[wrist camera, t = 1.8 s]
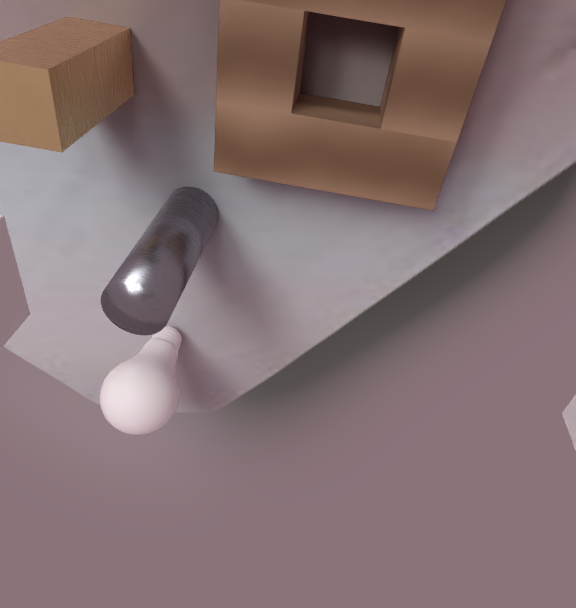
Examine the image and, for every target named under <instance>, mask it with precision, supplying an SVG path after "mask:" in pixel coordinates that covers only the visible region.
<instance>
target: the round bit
mask: <svg viewBox="0 0 576 608" xmlns="http://www.w3.org/2000/svg"><path fill="white" fill-rule="evenodd" d="M217 221H218V209H217V206H216V204H215V202H214V200H213V199H212V198H211V197H210V196H209V195H208V194H207V193H205V192H204V191H202V190H200V189H198V188H194V187H182V188H179V189H177V190H175V191H174V192H173V193H172V194H171V195H170V197H169V198H168V199H167V201H166V202H165V204H164V205H163V207H162V208H161V209H160V211H159V212H158V214H157V215H156V217H155V218H154V219H153V221H152V222H151V224H150V225H149V227H148V228H147V229H146V231H145V232H144V234H143V235H142V237H141V238H140V239H139V241H138V242H137V244H136V245H135V247H134V248H133V249H132V251H131V252H130V254H129V255H128V257H127V258H126V259H125V261H124V262H123V264H122V265H121V267H120V268H119V269H118V271H117V272H116V274H115V275H114V277H113V278H112V279H111V281H110V282H109V284H108V285H107V287H106V288H105V289H104V291H103V293H102V296H101V305H102V308H103V311H104V313H105V314H106V316H107V317H108V318H109V319H110V320H111V321H112V322H113V323H114V324H115V325H116V326H118V327H119V328H121V329H123V330H125V331H127V332H130V333H133V334H137V335H152V334H155V333H158V332H160V331H161V330H162V329H163V328H164V327H165V326H166V324H167V322H168V320H169V318H170V316H171V314H172V312H173V310H174V308H175V306H176V304H177V302H178V300H179V298H180V296H181V294H182V292H183V290H184V288H185V286H186V284H187V282H188V280H189V278H190V276H191V274H192V272H193V270H194V268H195V266H196V264H197V262H198V260H199V258H200V256H201V254H202V252H203V250H204V248H205V246H206V244H207V242H208V239H209V237H210V235H211V233H212V231H213V229H214V227H215V225H216V223H217Z"/></svg>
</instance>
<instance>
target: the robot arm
mask: <svg viewBox="0 0 576 608" xmlns="http://www.w3.org/2000/svg"><path fill="white" fill-rule="evenodd" d="M29 315H30V312H29V308H28V304H27V300H26V297H25V293H24V289H23V285H22V282H21V278H20V274H19V270H18V267H17V263H16V259H15V255H14V252H13V248H12V244H11V240H10V237H9V233H8V229H7V225H6V222H5V218H4V216H2V215H0V349H1V348H2V347H3V346H4V344H5V343H6V342H7V341H8V340H9V338H10V337H11V336H12V335H13V334H14V332H15V331H16V330H17V329H18V328H19V327H20V325H21V324H22V323H23V322H24V321H25V319H26V318H27V317H28V316H29ZM562 415H563V418H564V420H565V423H566V426H567V429H568V431H569V434H570V436H571V439H572V442H573V445H574V448H575V450H576V395H575V396H574V398H573V399H572V400H571V402H570V403H569V404H568V406H567V407H566V408H565V410H564V411H563V413H562Z"/></svg>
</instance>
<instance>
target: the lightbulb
mask: <svg viewBox="0 0 576 608" xmlns="http://www.w3.org/2000/svg"><path fill="white" fill-rule="evenodd" d="M181 341H182V337H181V335H180V333H179V332H178V331H177V330H176V329H175V328H173V327H170V326H165V327H164V328H163V329H162V330H161V331H160V332H158V333H155V334H153V336H152V337H151V339H150V340H149V341H148V342H146V343H145V345H144V346H143V348H142V349H141V350H140V352H139V353H138V354H136V355H135V356H134V357H132V358H130V359H128V360H126V361H124V362H122V363H121V364H119V365H117V366H116V367H115V368H114V369H113V370H112V371H111V372H110V373H109V374H108V375H107V376H106V378H105V380H104V382H103V384H102V387H101V392H100V404H101V409H102V411H103V414H104V416H105V418H106V419H107V421H108V422H109V423H110V424H111V425H113V426H114V427H115V428H116V429H118V430H120V431H122V432H124V433H128V434H135V435H139V434H140V435H142V434H147V433H150V432H153V431H155V430H157V429H159V428H161V427H162V426H164V425H165V424H166V423H167V422H168V421H169V419H170V418H171V417H172V415H173V414H174V413H175V410H176V408H177V405H178V399H179V389H178V384H177V380H176V376H175V366H176V362H177V359H178V350H179V347H180V344H181Z"/></svg>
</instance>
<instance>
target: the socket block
mask: <svg viewBox="0 0 576 608" xmlns="http://www.w3.org/2000/svg"><path fill="white" fill-rule="evenodd" d="M505 2H506V0H219V31H218V61H217V92H216V123H215V154H214V172H219V173H225V174H231V175H236V176H242V177H248V178H253V179H259V180H265V181H270V182H276V183H282V184H287V185H293V186H299V187H304V188H310V189H315V190H321V191H327V192H332V193H338V194H344V195H349V196H355V197H361V198H366V199H372V200H378V201H383V202H389V203H395V204H400V205H406V206H411V207H417V208H423V209H428V210H434V207H435V204H436V201H437V198H438V196H439V193H440V190H441V187H442V184H443V181H444V178H445V175H446V173H447V170H448V167H449V164H450V161H451V158H452V155H453V152H454V149H455V147H456V144H457V141H458V138H459V135H460V132H461V129H462V126H463V124H464V121H465V118H466V115H467V112H468V109H469V106H470V103H471V100H472V98H473V95H474V92H475V89H476V86H477V83H478V80H479V77H480V75H481V72H482V69H483V66H484V63H485V60H486V57H487V54H488V51H489V49H490V46H491V43H492V40H493V37H494V34H495V31H496V28H497V26H498V23H499V20H500V17H501V14H502V11H503V8H504V5H505ZM310 12H314V13H320V14H326V15H332V16H338V17H344V18H350V19H356V20H362V21H368V22H374V23H380V24H386V25H392V26H398V27H399V29H398V33H397V38H396V42H395V46H394V50H393V55H392V59H391V63H390V67H389V72H388V76H387V80H386V84H385V88H384V93H383V97H382V101H381V105H380V107H378V106H372V105H366V104H360V103H354V102H349V101H343V100H337V99H331V98H325V97H319V96H314V95H308V94H302V93H299V92H300V85H301V77H302V70H303V62H304V55H305V47H306V40H307V32H308V25H309V17H310Z"/></svg>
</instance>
